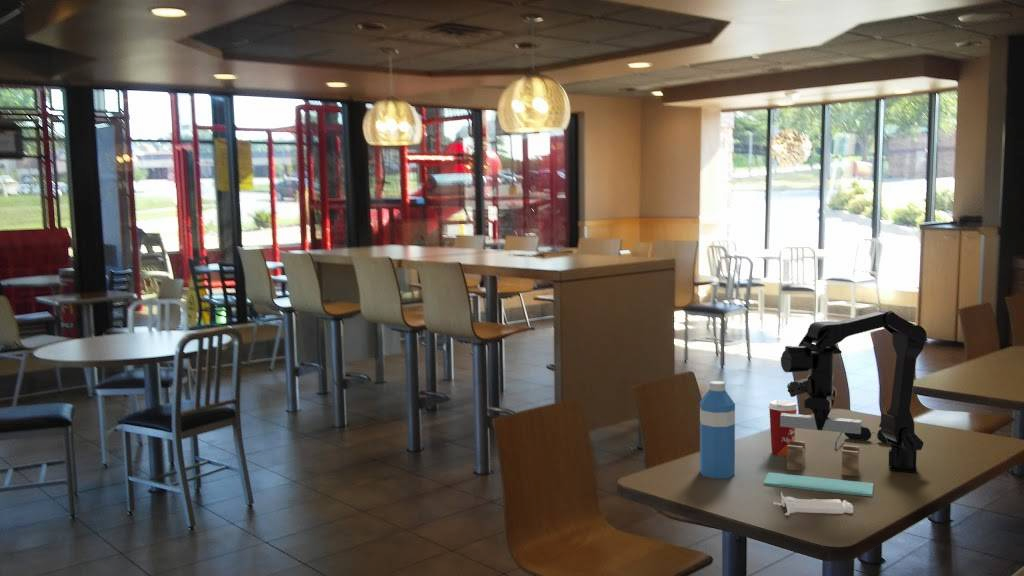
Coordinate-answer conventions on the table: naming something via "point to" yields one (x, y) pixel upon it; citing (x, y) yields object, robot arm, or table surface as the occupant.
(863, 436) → the sunglasses
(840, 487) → the mat
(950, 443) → the table surface
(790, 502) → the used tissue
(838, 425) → the rail
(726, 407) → the water bottle
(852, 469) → the stand
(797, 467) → the stand
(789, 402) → the coffee cup
